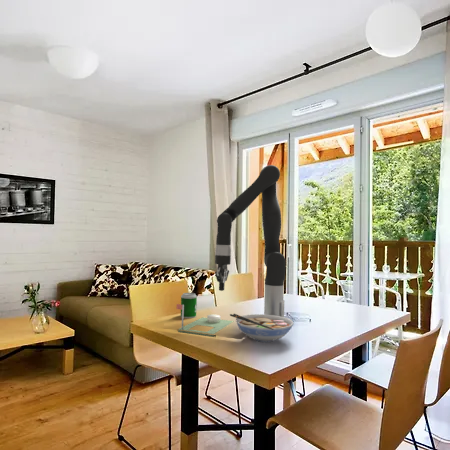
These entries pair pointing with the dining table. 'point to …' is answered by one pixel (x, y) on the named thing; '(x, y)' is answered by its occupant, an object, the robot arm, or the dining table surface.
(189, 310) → the soda can
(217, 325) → the putting board
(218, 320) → the white dome knob
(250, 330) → the ramen bowl
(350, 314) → the dining table surface
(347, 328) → the dining table surface
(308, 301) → the dining table surface
